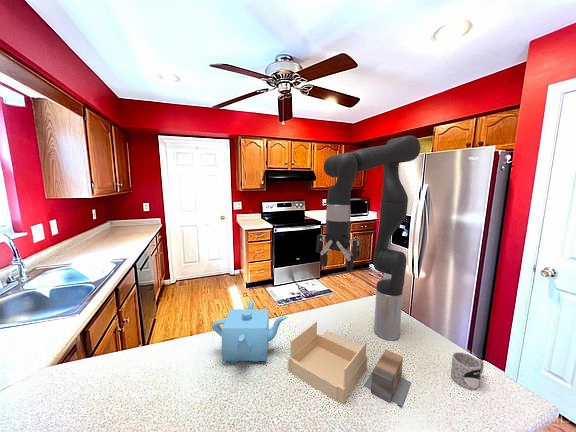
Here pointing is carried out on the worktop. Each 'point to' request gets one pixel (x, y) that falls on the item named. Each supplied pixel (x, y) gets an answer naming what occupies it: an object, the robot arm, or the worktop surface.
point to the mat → (399, 392)
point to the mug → (466, 370)
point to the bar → (386, 375)
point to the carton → (327, 362)
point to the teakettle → (246, 334)
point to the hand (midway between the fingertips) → (336, 268)
